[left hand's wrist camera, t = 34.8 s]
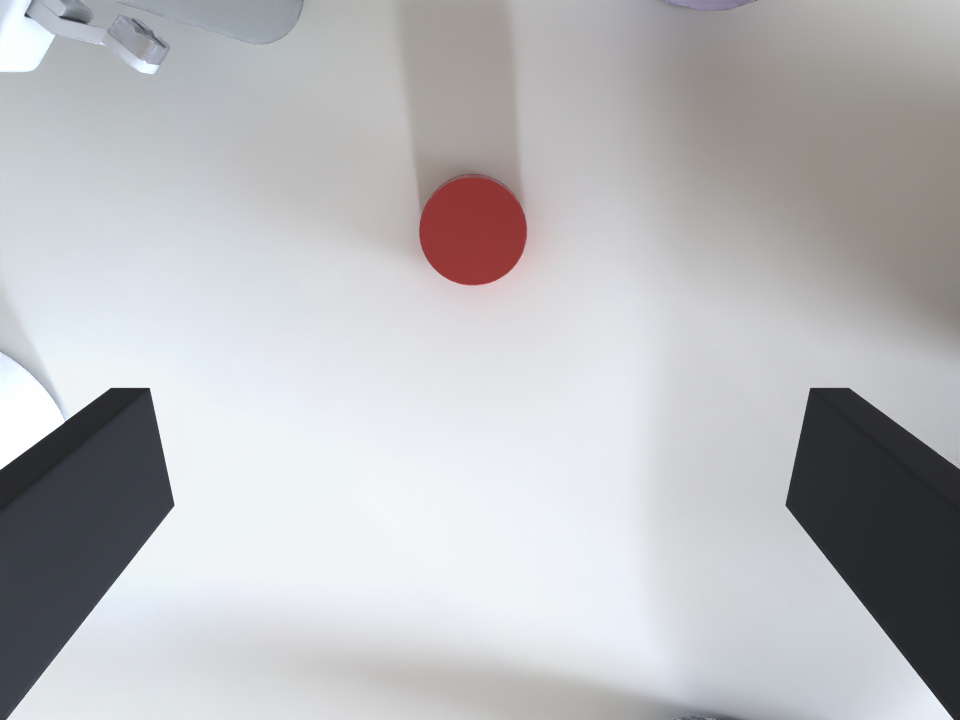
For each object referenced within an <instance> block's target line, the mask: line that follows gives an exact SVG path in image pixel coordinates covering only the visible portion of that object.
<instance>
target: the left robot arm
mask: <svg viewBox="0 0 960 720" xmlns="http://www.w3.org/2000/svg"><path fill="white" fill-rule="evenodd" d="M173 507H174V501H173V496H172V491H171V486H170V482H169V477H168V472H167V468H166V463H165V458H164V453H163V449H162V444H161V439H160V434H159V430H158V425H157V420H156V416H155V411H154V406H153V401H152V397H151V392H150V388H110V389H109V390H108V391H106V392H105V393H104V394H102V395H101V396H100V397H98V398H97V399H95V400H94V401H93V402H91V403H90V404H89V405H87V406H86V407H85V408H83V409H82V410H81V411H79V412H78V413H76V414H75V415H74V416H72V417H71V418H70V419H68V420H67V421H66V422H64V423H63V424H62V425H60V426H59V427H57V428H56V429H55V430H53V431H52V432H51V433H49V434H48V435H47V436H45V437H44V438H43V439H41V440H40V441H38V442H37V443H36V444H34V445H33V446H32V447H30V448H29V449H28V450H26V451H25V452H24V453H22V454H21V455H19V456H18V457H17V458H15V459H14V460H13V461H11V462H10V463H9V464H7V465H6V466H4V467H3V468H2V469H0V720H6V719H7V718H8V717H9V715H10V714H11V713H12V712H13V710H14V709H15V708H16V707H17V705H18V704H19V703H20V701H21V700H22V699H23V698H24V696H25V695H26V694H27V693H28V691H29V690H30V689H31V687H32V686H33V685H34V684H35V682H36V681H37V680H38V679H39V677H40V676H41V675H42V673H43V672H44V671H45V670H46V668H47V667H48V666H49V665H50V663H51V662H52V661H53V659H54V658H55V657H56V656H57V654H58V653H59V652H60V651H61V649H62V648H63V647H64V645H65V644H66V643H67V642H68V640H69V639H70V638H71V637H72V635H73V634H74V633H75V631H76V630H77V629H78V628H79V626H80V625H81V624H82V623H83V621H84V620H85V619H86V617H87V616H88V615H89V614H90V612H91V611H92V610H93V609H94V607H95V606H96V605H97V603H98V602H99V601H100V600H101V598H102V597H103V596H104V595H105V593H106V592H107V591H108V589H109V588H110V587H111V586H112V584H113V583H114V582H115V581H116V579H117V578H118V577H119V575H120V574H121V573H122V572H123V570H124V569H125V568H126V567H127V565H128V564H129V563H130V561H131V560H132V559H133V558H134V556H135V555H136V554H137V553H138V551H139V550H140V549H141V547H142V546H143V545H144V544H145V542H146V541H147V540H148V539H149V537H150V536H151V535H152V533H153V532H154V531H155V530H156V528H157V527H158V526H159V525H160V523H161V522H162V521H163V519H164V518H165V517H166V516H167V514H168V513H169V512H170V510H171V509H172V508H173ZM786 507H787V508H788V509H789V511H790V512H791V513H792V514H793V516H794V517H795V518H796V519H797V521H798V522H799V523H800V525H801V526H802V527H803V528H804V530H805V531H806V532H807V533H808V535H809V536H810V537H811V539H812V540H813V541H814V542H815V544H816V545H817V546H818V547H819V549H820V550H821V551H822V553H823V554H824V555H825V556H826V558H827V559H828V560H829V561H830V563H831V564H832V565H833V567H834V568H835V569H836V570H837V572H838V573H839V574H840V575H841V577H842V578H843V579H844V581H845V582H846V583H847V584H848V586H849V587H850V588H851V589H852V591H853V592H854V593H855V595H856V596H857V597H858V598H859V600H860V601H861V602H862V603H863V605H864V606H865V607H866V609H867V610H868V611H869V612H870V614H871V615H872V616H873V617H874V619H875V620H876V621H877V623H878V624H879V625H880V626H881V628H882V629H883V630H884V631H885V633H886V634H887V635H888V637H889V638H890V639H891V640H892V642H893V643H894V644H895V645H896V647H897V648H898V649H899V651H900V652H901V653H902V654H903V656H904V657H905V658H906V659H907V661H908V662H909V663H910V665H911V666H912V667H913V668H914V670H915V671H916V672H917V673H918V675H919V676H920V677H921V679H922V680H923V681H924V682H925V684H926V685H927V686H928V687H929V689H930V690H931V691H932V693H933V694H934V695H935V696H936V698H937V699H938V700H939V701H940V703H941V704H942V705H943V707H944V708H945V709H946V710H947V712H948V713H949V714H950V715H951V717H952V718H953V719H954V720H960V469H958V468H957V467H956V466H954V465H953V464H951V463H950V462H949V461H947V460H946V459H945V458H943V457H942V456H941V455H939V454H938V453H936V452H935V451H934V450H932V449H931V448H930V447H928V446H927V445H926V444H924V443H923V442H922V441H920V440H919V439H917V438H916V437H915V436H913V435H912V434H911V433H909V432H908V431H907V430H905V429H904V428H903V427H901V426H900V425H898V424H897V423H896V422H894V421H893V420H892V419H890V418H889V417H888V416H886V415H885V414H884V413H882V412H881V411H879V410H878V409H877V408H875V407H874V406H873V405H871V404H870V403H869V402H867V401H866V400H864V399H863V398H862V397H860V396H859V395H858V394H856V393H855V392H854V391H852V390H851V389H850V388H810V392H809V397H808V401H807V406H806V411H805V416H804V420H803V425H802V430H801V434H800V439H799V444H798V449H797V453H796V458H795V463H794V468H793V472H792V477H791V482H790V486H789V491H788V496H787V501H786Z"/></svg>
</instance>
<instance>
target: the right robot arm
mask: <svg viewBox="0 0 960 720" xmlns="http://www.w3.org/2000/svg"><path fill="white" fill-rule="evenodd" d="M92 18H93V12H92V11H91V10H90V9H89V8H87V7H86V6H85V5H84V4H83V3H81V2H80V1H79V0H0V72H27V71H32V70H34V69H36V68H37V66H38V65H39V64H40V62H41V60H42V59H43V57H44V55H45V53H46V51H47V50H48V48H49V46H50V44H51V42H52V41H53V39H54V37H55V35H58V36H63V37H68V38H72V39H77V40H81V41H86V42H90V43H95V44H99V45H105V46H107V47H108V48H109V49H111V50H112V51H113V52H114V53H116V54H117V55H118V56H119V57H121V58H122V59H123V60H124V61H125V62H127V63H128V64H129V65H130V66H132V67H133V68H135V69H137V70H138V71H140V72H142V73H149V74H154V73H155V72H156V70H157V69H158V67H159V65H160V64H161V62H162V61H163V59H164V57H165V56H166V54H167V53H168V51H169V49H170V46H169V45H168V44H167V43H166V42H165V41H164V40H163V39H162V38H158V37H155V36H154V33H153V31H152V30H151V29H150V28H149V27H147V26H146V25H145V24H144V23H143V22H141V21H140V20H137V19H134V18H132V19H129V18H128V17H127V16H123V15H119V16H118V17H117V19H116V21H115V22H114V24H113V25H112V27H111V28H110V30H109V29H105V28H100V27H96V26H91V25H88V24H87V23H90V21H91V20H92ZM64 422H65V421H64V419H63V417H62V415H61V413H60V411H59V409H58V407H57V405H56V404H55V402H54V401H53V399H52V398H51V396H50V395H49V394H48V392H47V391H46V390H45V389H44V387H43V386H42V385H41V384H40V383H39V382H38V381H37V380H36V379H35V378H34V377H33V376H32V375H31V374H30V373H29V372H28V371H27V370H25V369H24V368H23V367H22V366H21V365H19V364H18V363H17V362H15V361H14V360H12V359H11V358H10V357H8V356H6V355H5V354H3V353H2V352H0V469H2V468H3V467H4V466H6V465H7V464H9V463H10V462H11V461H13V460H14V459H15V458H17V457H18V456H19V455H21V454H22V453H24V452H25V451H26V450H28V449H29V448H30V447H32V446H33V445H34V444H36V443H37V442H38V441H40V440H41V439H43V438H44V437H45V436H47V435H48V434H49V433H51V432H52V431H53V430H55V429H56V428H57V427H59V426H60V425H62V424H63V423H64Z"/></svg>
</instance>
